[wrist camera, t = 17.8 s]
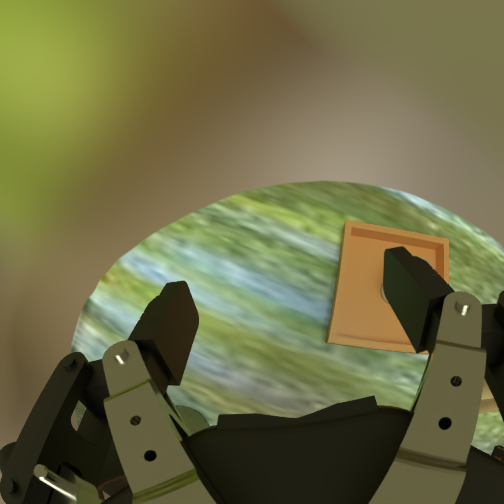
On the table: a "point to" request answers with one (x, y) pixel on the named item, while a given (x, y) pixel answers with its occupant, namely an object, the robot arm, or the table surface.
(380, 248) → the parts tray
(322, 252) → the table surface
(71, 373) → the robot arm
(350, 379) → the table surface
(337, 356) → the table surface
